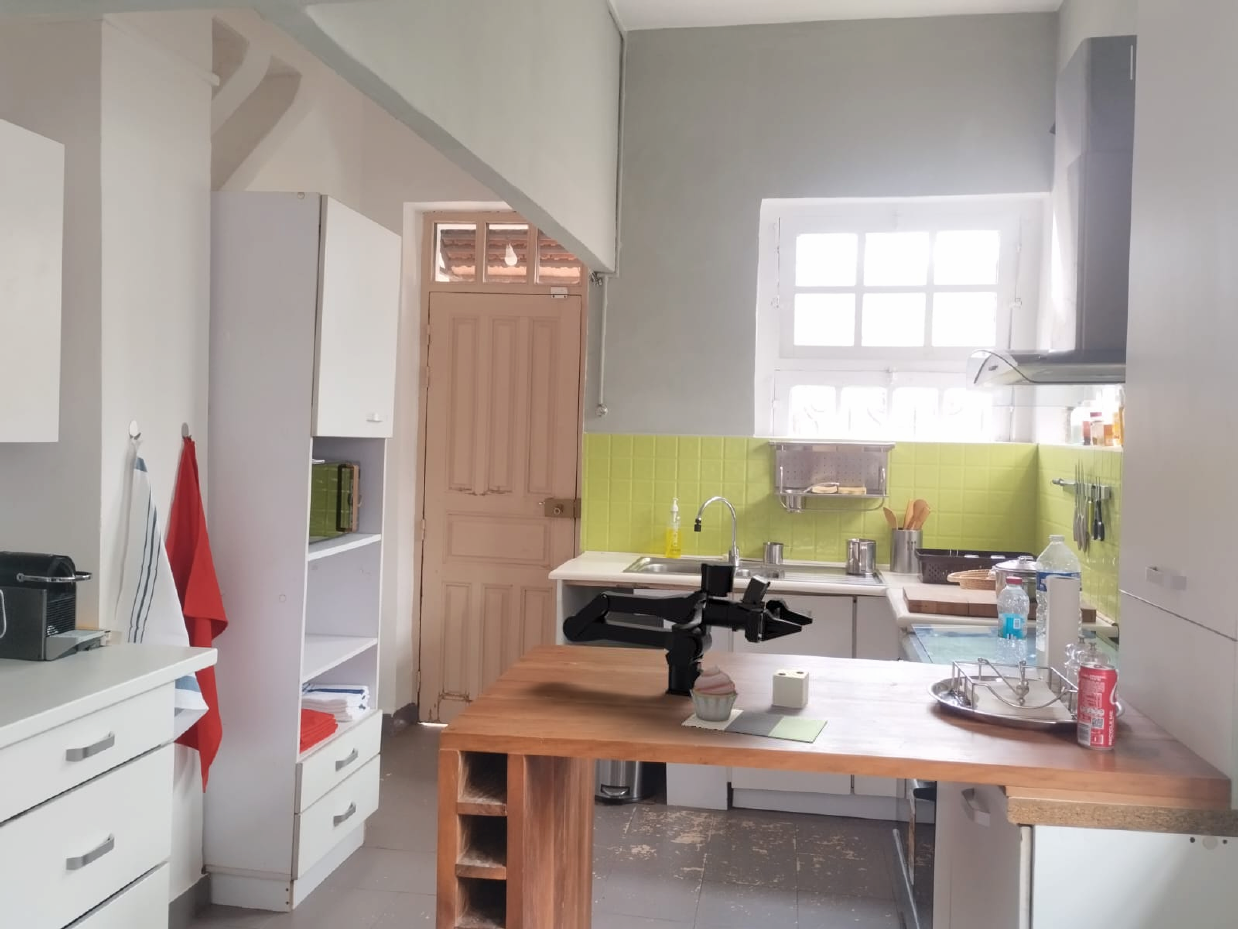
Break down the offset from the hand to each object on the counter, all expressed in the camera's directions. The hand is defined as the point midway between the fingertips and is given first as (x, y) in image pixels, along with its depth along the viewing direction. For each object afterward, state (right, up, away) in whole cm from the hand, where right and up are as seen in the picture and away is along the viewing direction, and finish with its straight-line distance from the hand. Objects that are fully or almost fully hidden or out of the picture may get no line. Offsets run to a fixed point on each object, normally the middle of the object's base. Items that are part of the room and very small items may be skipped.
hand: (807, 624), depth 192 cm
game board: (-12, -16, -11) cm, 23 cm away
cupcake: (-19, -16, -8) cm, 27 cm away
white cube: (-3, -16, +3) cm, 17 cm away
